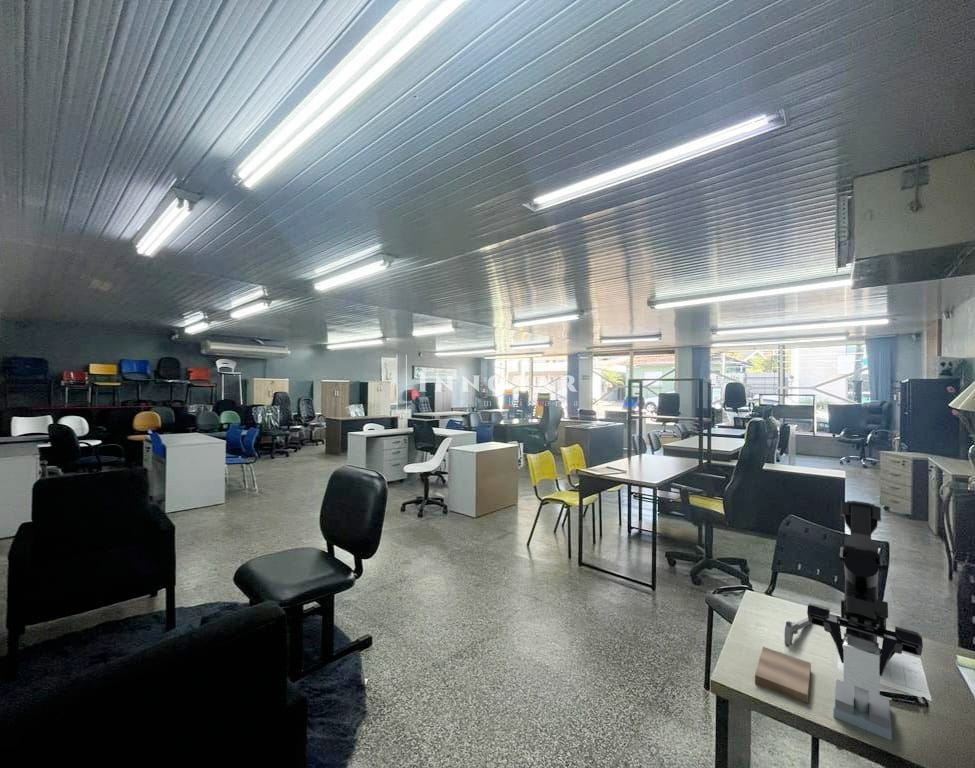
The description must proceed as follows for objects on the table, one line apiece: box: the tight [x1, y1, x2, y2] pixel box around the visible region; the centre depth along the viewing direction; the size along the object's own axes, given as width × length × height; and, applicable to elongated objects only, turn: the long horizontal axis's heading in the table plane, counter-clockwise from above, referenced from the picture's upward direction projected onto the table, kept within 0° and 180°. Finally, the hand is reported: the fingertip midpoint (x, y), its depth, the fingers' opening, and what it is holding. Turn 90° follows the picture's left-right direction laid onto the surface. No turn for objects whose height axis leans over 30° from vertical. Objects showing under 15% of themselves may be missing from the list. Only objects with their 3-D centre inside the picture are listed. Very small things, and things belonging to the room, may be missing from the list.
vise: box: [832, 679, 893, 741], centre depth 91 cm, size 11×9×7 cm
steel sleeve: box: [842, 632, 881, 695], centre depth 89 cm, size 6×6×8 cm
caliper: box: [784, 617, 812, 647], centre depth 120 cm, size 20×1×6 cm, turn 127°
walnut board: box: [754, 646, 812, 704], centre depth 102 cm, size 14×10×2 cm
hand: (861, 668), depth 88 cm, fingers closed on steel sleeve, 6 cm apart
